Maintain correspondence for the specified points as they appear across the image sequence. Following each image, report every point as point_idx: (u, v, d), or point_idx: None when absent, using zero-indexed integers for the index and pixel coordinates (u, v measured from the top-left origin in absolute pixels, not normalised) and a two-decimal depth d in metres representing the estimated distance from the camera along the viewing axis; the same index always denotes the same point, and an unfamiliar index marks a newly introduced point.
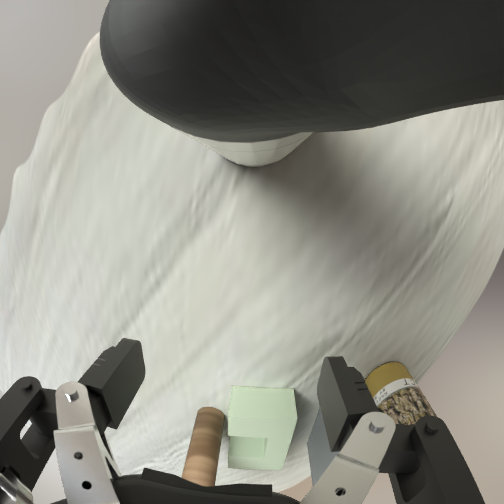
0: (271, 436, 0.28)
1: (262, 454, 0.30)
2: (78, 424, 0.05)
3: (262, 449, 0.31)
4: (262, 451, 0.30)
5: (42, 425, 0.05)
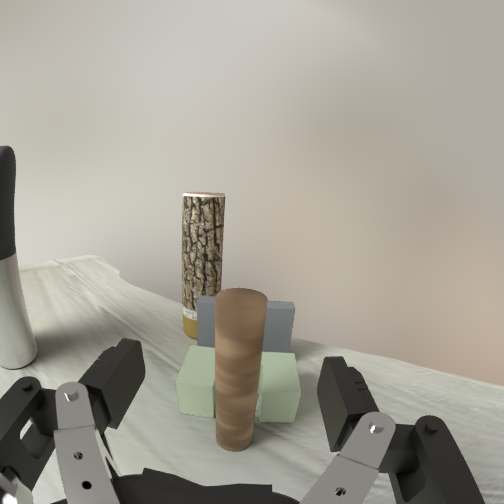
0: None
1: (262, 369, 0.31)
2: (78, 424, 0.05)
3: (261, 375, 0.32)
4: (261, 372, 0.32)
5: (42, 425, 0.05)
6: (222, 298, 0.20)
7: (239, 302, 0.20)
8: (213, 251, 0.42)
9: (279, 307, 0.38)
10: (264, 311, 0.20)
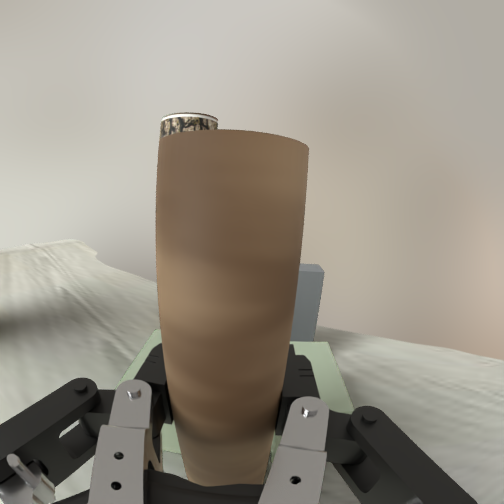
0: None
1: None
2: (131, 423, 0.06)
3: None
4: None
5: (90, 428, 0.06)
6: None
7: None
8: None
9: (299, 269, 0.24)
10: (304, 171, 0.06)
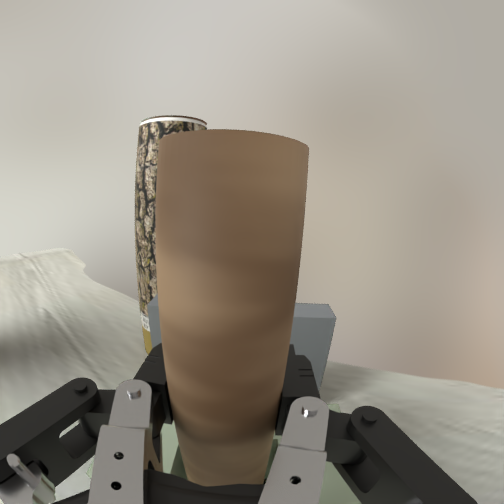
0: None
1: (277, 447, 0.13)
2: (131, 423, 0.06)
3: (274, 455, 0.13)
4: (275, 452, 0.13)
5: (90, 428, 0.06)
6: None
7: None
8: None
9: (305, 314, 0.19)
10: (304, 171, 0.06)
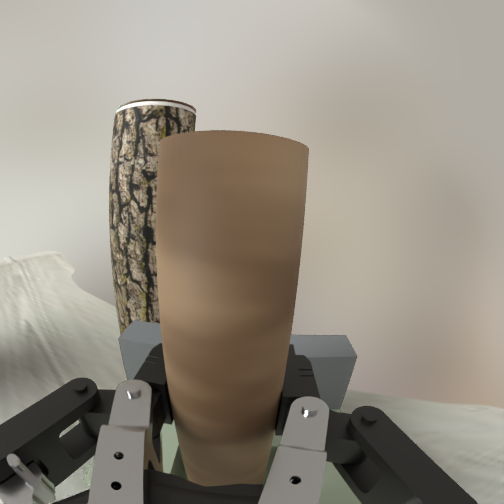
0: (175, 431, 0.13)
1: None
2: (131, 423, 0.06)
3: None
4: None
5: (90, 428, 0.06)
6: None
7: None
8: None
9: (319, 352, 0.14)
10: (304, 172, 0.06)
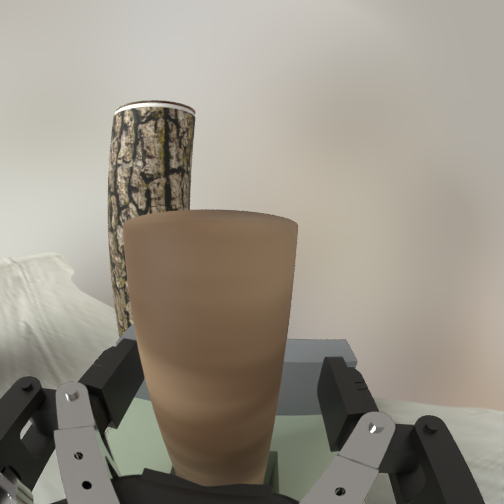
0: None
1: (276, 459, 0.12)
2: (78, 424, 0.05)
3: (274, 466, 0.12)
4: (274, 463, 0.12)
5: (42, 425, 0.05)
6: (145, 221, 0.06)
7: (196, 226, 0.05)
8: None
9: (319, 357, 0.14)
10: (290, 261, 0.06)
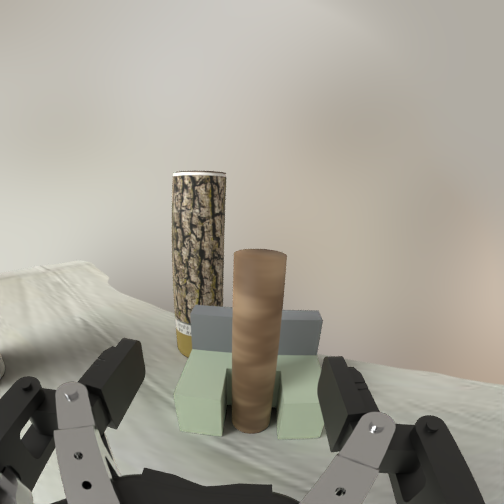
0: (223, 365, 0.26)
1: (280, 376, 0.25)
2: (78, 424, 0.05)
3: (279, 383, 0.26)
4: (279, 380, 0.26)
5: (42, 425, 0.05)
6: (241, 254, 0.20)
7: (259, 257, 0.20)
8: (211, 247, 0.32)
9: (301, 318, 0.28)
10: (284, 266, 0.20)
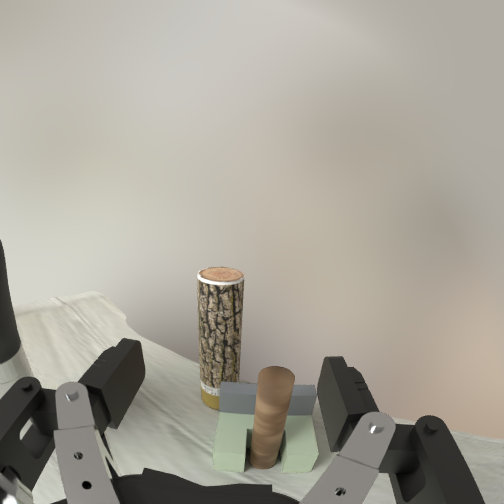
0: (244, 426, 0.33)
1: (284, 433, 0.32)
2: (78, 424, 0.05)
3: (283, 436, 0.33)
4: (284, 435, 0.32)
5: (42, 425, 0.05)
6: (263, 378, 0.27)
7: (276, 382, 0.26)
8: (232, 336, 0.39)
9: (301, 393, 0.35)
10: (292, 386, 0.27)
